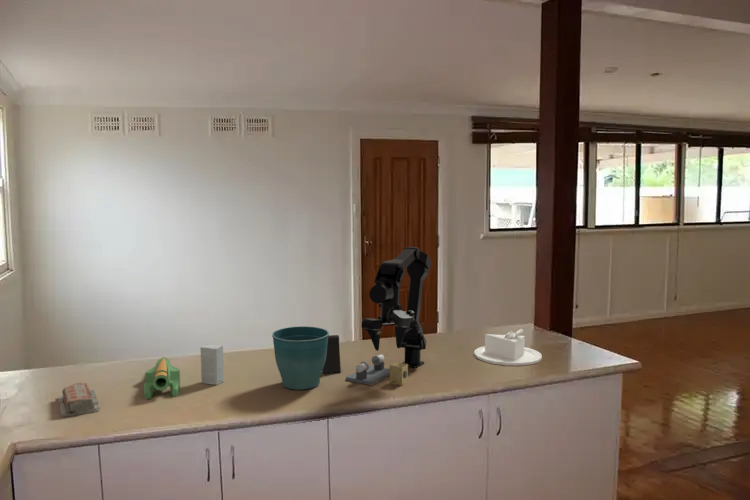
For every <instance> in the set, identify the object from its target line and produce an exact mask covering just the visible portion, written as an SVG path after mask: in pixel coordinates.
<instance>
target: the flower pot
mask: <svg viewBox="0 0 750 500" xmlns="http://www.w3.org/2000/svg"><path fill="white" fill-rule="evenodd" d="M271 334H272V335H271V336H272V341H273V350H274V351H273V352H274V358H275V363H276V366H277V369H278V372H279V374H280V379H281V381H282V382H281V385H282V386H283V387H284V388H287V389H289V390H297V391H298V390H308V389H309V390H310V389H314V388H315V387H318V386H319V384H320V382H321V377H322V373H323V372H322V370H323V367H324V364H325V361H326V355H327V344H328V336H330V332H329V331H328V330H327V329H325V328H322V327H315V326H307V325H306V326H289V327H283V328H280V329H277V330H275V331H273V332H272V333H271Z"/></svg>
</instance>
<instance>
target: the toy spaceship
mask: <svg viewBox="0 0 750 500" xmlns="http://www.w3.org/2000/svg"><path fill="white" fill-rule="evenodd" d="M180 371H181V370H180V369H179V368H178V367H176V366H173V365H172V364H171V360H170V359H168V357H165V356H163V357H161V358H160V359H158V360H157V362H155V366H153V367H152V368H150V369H148V370H147V371H145V374H144V375H145V376H144V378H145V383H144V384H143V397H144V399H145V400H149V399H152V398H153V395H154V394H155V393H154V391H155V390H156V391H164V390H166V389H168V387H170V389H169V390H170V394H171V397H172V398H173V397H179V395H180V392H181V387H180V385H181V384H180V383H181V379H180V378H181V373H180ZM154 389H155V390H154Z"/></svg>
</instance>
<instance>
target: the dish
mask: <svg viewBox="0 0 750 500" xmlns="http://www.w3.org/2000/svg"><path fill="white" fill-rule="evenodd" d="M523 332H524V330H523V328H520V329H518V330H517V331H516V332H514V331H513V330H510V331H508V332H507V333H505V334H492V333H490V334H489V333H485V334H484V346H479V347H478V348H476V349H474V352H473V353H474V354H473V355H474V357H475V358H476V359H478V360H480V361H482V362H485V363H488V364H492V365H501V366H511V367H513V366H514V367H516V366H517V367H520V366H521V367H522V366H531V365H534V364H538V363H540V362H541V361H542V353H541V352H539V351H538V350H535V349H533V348H530V347H525V346H526V345H525V343H526V342H525V341H526V336H525V335H520V334H522V333H523Z"/></svg>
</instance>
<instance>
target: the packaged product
mask: <svg viewBox="0 0 750 500" xmlns="http://www.w3.org/2000/svg"><path fill="white" fill-rule="evenodd" d="M61 393H62V395H58V404H59V409H60V410H59V411H60V414H61V418H67V417H73V416H79V415H85V414H91V413H99V412H100V409H101V406H100V404H99V400H98V398H97V394H96V392H95V389H94V388H92V389H90V388H89V387H88V384H87V382H82V381H80V382H77V383H74V384H71V385H68V386H66V387H64V388H63V389H62V392H61Z"/></svg>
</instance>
